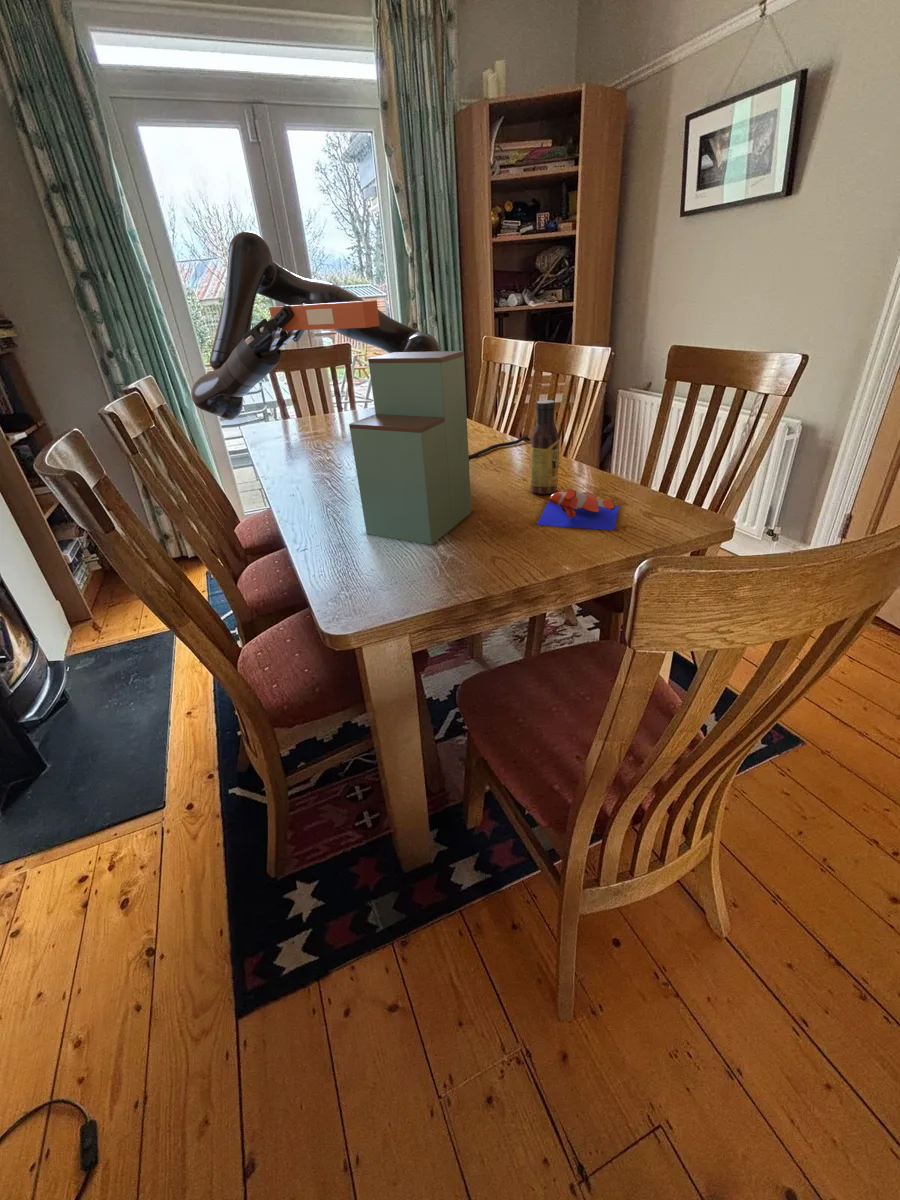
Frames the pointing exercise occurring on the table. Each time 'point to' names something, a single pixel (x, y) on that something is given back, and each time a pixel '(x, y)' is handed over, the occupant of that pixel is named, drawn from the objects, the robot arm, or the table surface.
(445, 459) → the stand
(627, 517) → the table surface
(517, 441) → the robot arm
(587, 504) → the fish
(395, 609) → the table surface
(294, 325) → the box
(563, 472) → the table surface
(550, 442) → the sauce bottle
